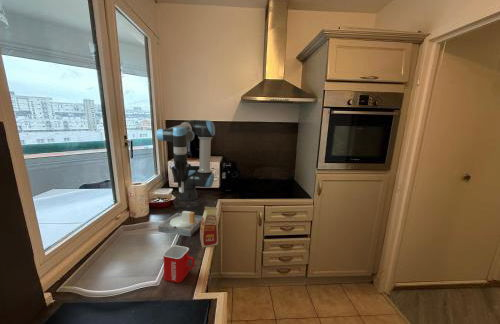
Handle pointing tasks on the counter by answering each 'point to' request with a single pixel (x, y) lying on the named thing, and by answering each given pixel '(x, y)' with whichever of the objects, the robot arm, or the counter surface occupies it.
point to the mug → (176, 263)
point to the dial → (184, 220)
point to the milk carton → (209, 227)
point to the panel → (189, 231)
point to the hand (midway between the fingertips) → (181, 191)
